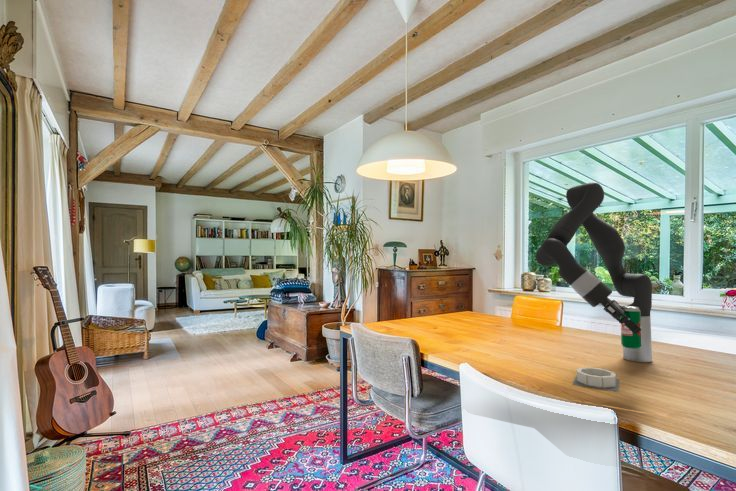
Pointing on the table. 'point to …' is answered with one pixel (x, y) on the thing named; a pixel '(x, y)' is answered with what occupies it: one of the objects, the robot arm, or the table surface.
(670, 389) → the table surface
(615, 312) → the robot arm
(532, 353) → the table surface
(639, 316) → the soda can
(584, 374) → the grey faceted ashtray
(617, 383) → the mat
